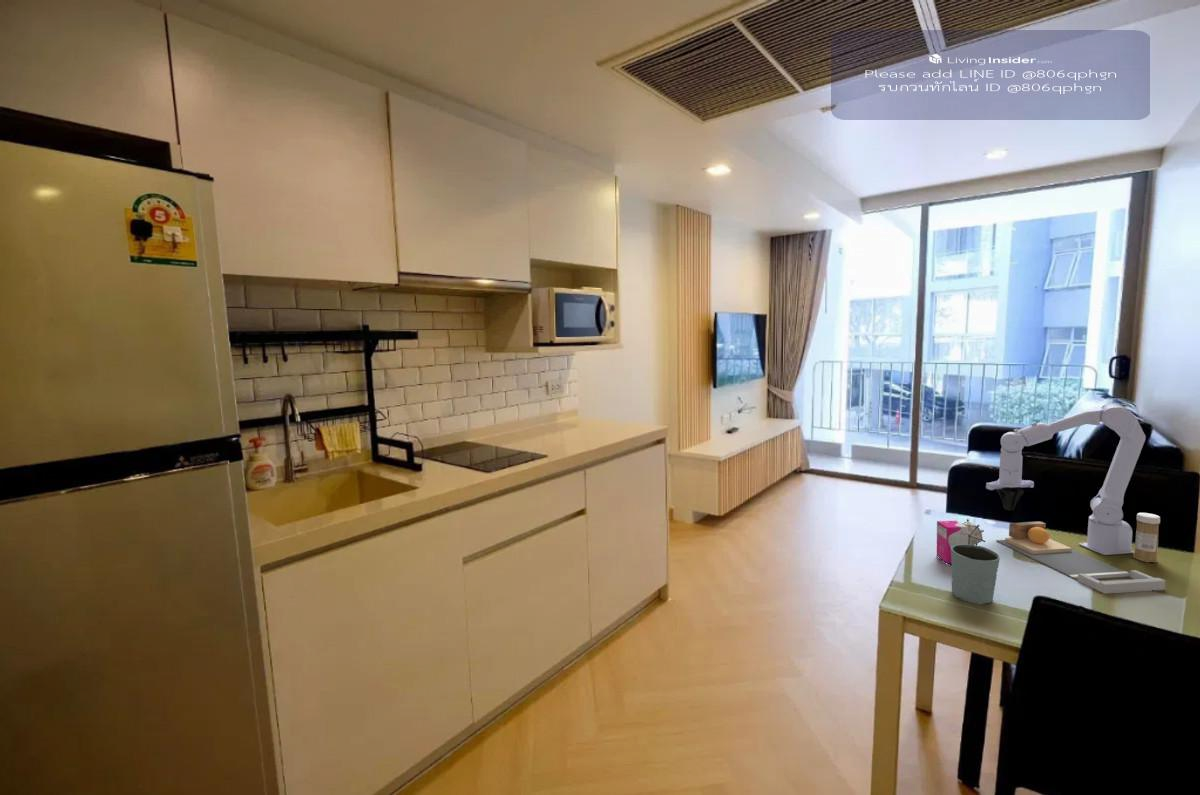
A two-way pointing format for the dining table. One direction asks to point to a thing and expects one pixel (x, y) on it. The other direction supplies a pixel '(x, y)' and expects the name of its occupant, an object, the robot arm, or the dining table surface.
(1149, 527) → the sprinkles bottle
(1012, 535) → the pusher bar
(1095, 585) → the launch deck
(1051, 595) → the dining table surface
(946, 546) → the supplement box
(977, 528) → the game die
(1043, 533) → the ball
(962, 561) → the grey-green plant pot
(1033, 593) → the dining table surface
